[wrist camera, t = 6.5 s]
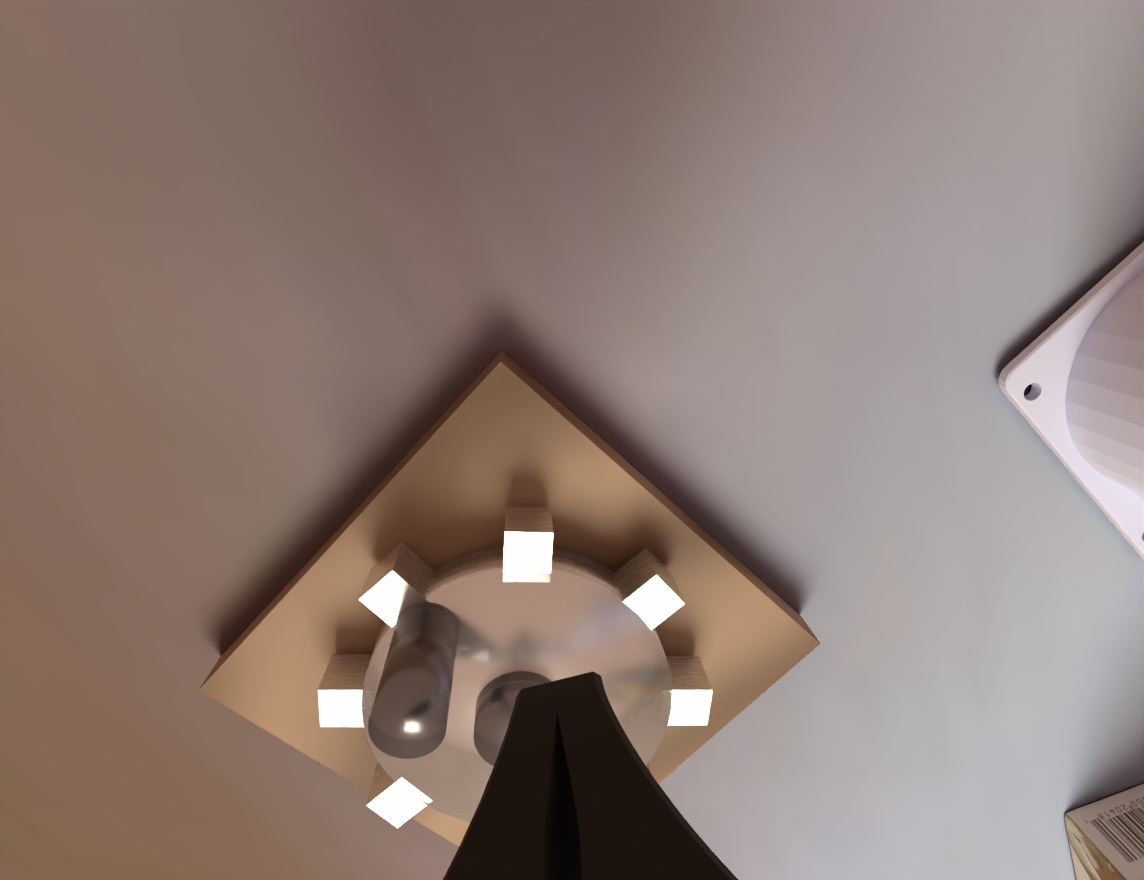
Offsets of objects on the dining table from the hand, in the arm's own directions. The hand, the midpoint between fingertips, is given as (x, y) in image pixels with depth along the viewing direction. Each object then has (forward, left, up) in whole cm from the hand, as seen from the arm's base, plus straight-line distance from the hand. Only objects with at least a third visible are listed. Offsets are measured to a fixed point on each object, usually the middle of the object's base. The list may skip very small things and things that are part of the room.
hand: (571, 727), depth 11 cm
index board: (-3, +4, -9) cm, 11 cm away
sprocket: (-3, +4, -8) cm, 9 cm away
